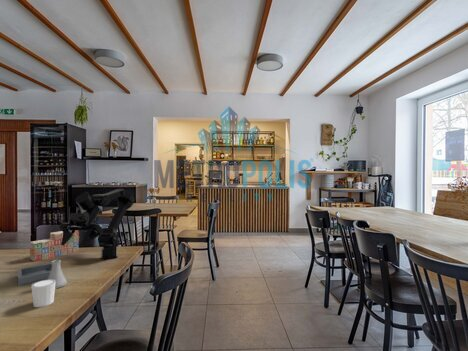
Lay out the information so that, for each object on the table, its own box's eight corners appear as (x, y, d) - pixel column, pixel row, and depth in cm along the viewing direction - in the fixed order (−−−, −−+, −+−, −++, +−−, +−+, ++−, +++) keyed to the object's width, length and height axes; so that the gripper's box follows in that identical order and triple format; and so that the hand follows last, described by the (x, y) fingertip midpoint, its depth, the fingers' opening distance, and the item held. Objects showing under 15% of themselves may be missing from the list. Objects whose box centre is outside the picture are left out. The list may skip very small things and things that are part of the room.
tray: (54, 268, 122) (54, 262, 122) (57, 277, 112) (57, 270, 112) (17, 275, 113) (17, 269, 113) (18, 285, 103) (18, 278, 103)
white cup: (39, 298, 93) (39, 279, 93) (60, 297, 93) (59, 278, 93) (26, 308, 86) (26, 287, 86) (47, 307, 86) (47, 287, 86)
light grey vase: (55, 290, 99) (55, 264, 99) (40, 288, 101) (40, 263, 101) (71, 282, 106) (71, 258, 106) (56, 281, 108) (56, 257, 108)
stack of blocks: (34, 261, 131) (34, 237, 131) (29, 259, 135) (29, 236, 135) (79, 251, 149) (79, 230, 149) (74, 249, 152) (74, 228, 152)
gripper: (62, 205, 118) (41, 234, 107) (99, 206, 115) (81, 236, 105) (75, 219, 126) (56, 248, 115) (110, 220, 123) (94, 250, 112)
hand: (71, 245), depth 112 cm, fingers open, 9 cm apart
